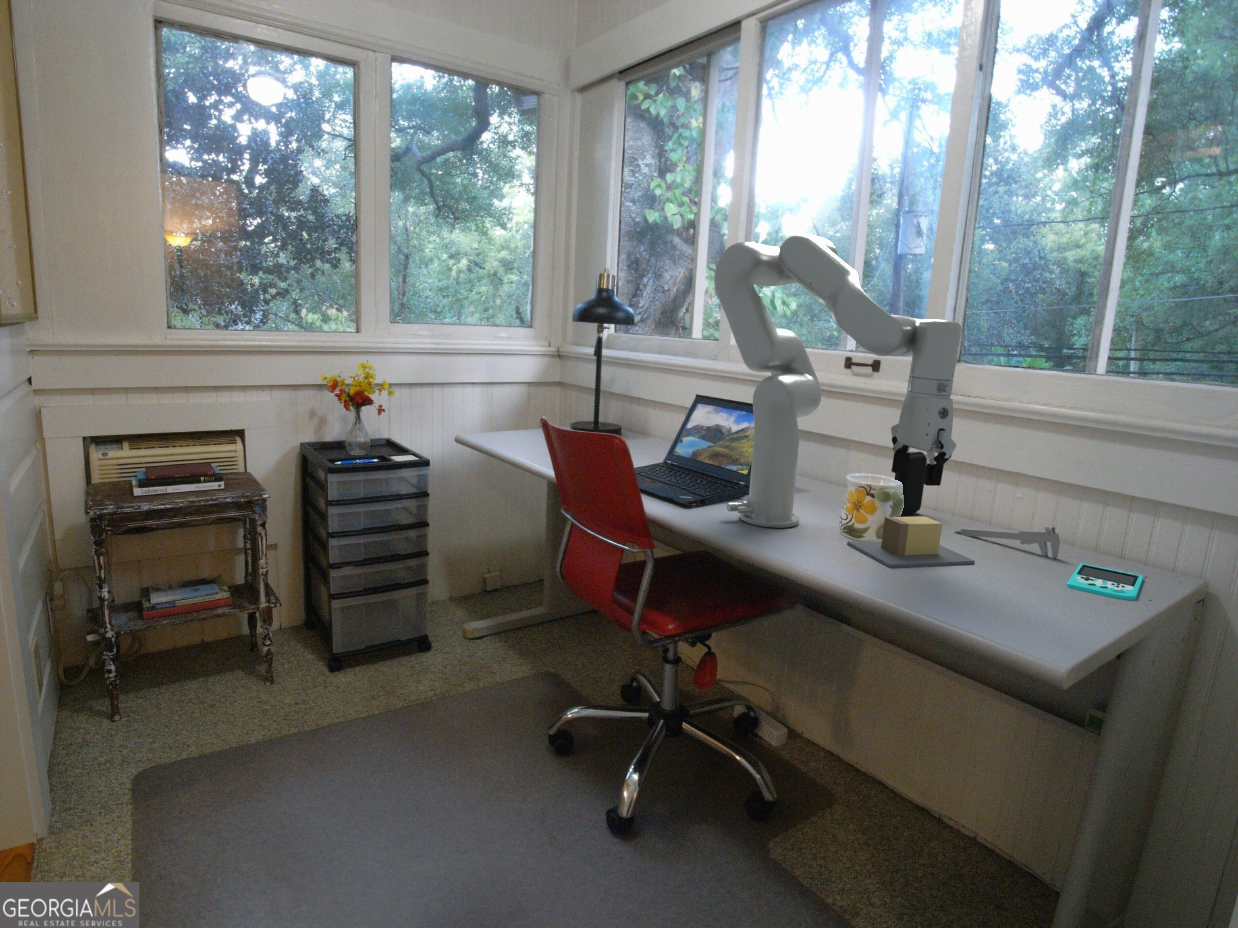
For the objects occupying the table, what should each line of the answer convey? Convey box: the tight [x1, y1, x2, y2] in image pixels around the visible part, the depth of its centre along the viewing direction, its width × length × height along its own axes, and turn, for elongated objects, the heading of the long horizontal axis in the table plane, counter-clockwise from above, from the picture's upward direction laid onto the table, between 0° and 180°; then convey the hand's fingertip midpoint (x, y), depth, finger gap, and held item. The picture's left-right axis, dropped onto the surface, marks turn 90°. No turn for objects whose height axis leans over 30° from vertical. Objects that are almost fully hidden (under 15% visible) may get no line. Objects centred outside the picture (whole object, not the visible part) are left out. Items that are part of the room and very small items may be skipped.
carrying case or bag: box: [894, 451, 928, 517], centre depth 171 cm, size 11×3×15 cm, turn 126°
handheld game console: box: [1065, 562, 1144, 601], centre depth 131 cm, size 10×16×1 cm, turn 141°
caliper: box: [954, 526, 1061, 559], centre depth 151 cm, size 20×1×6 cm, turn 37°
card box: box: [881, 515, 943, 556], centre depth 142 cm, size 5×9×6 cm, turn 105°
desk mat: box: [846, 540, 976, 569], centre depth 142 cm, size 18×14×1 cm
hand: (915, 478), depth 140 cm, fingers open, 9 cm apart
